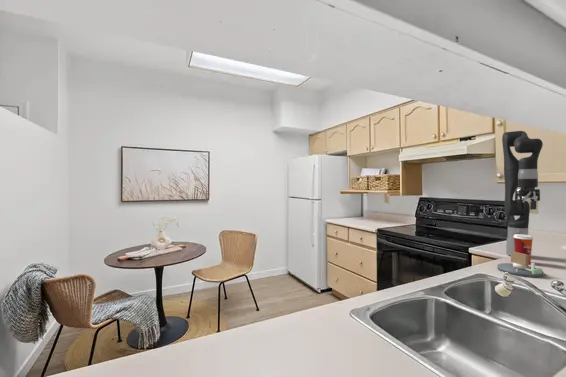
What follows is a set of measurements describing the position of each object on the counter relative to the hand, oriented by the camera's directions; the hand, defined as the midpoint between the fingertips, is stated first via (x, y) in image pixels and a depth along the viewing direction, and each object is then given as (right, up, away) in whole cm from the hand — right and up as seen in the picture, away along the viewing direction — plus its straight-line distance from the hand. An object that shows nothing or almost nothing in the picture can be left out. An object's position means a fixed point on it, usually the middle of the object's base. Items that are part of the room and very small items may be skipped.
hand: (527, 209), depth 137 cm
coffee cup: (+6, -30, +9) cm, 32 cm away
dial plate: (-9, -30, -5) cm, 32 cm away
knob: (-8, -28, -7) cm, 30 cm away
